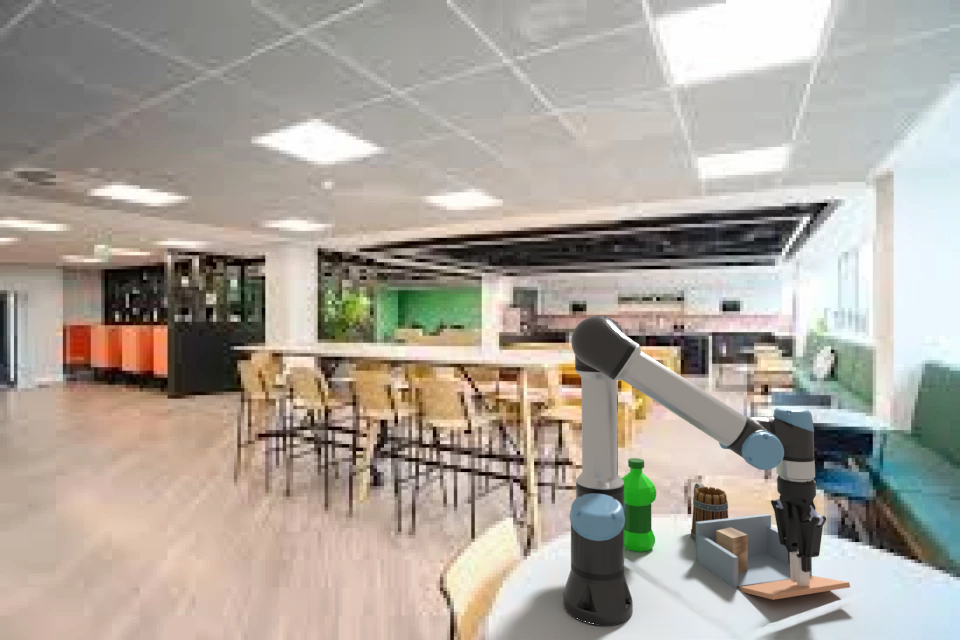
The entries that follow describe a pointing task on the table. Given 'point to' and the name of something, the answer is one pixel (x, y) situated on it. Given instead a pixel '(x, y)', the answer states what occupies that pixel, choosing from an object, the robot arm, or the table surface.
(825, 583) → the panel
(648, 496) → the plastic bottle
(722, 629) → the table surface
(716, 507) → the mug
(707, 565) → the box
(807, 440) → the robot arm
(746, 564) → the wooden block
